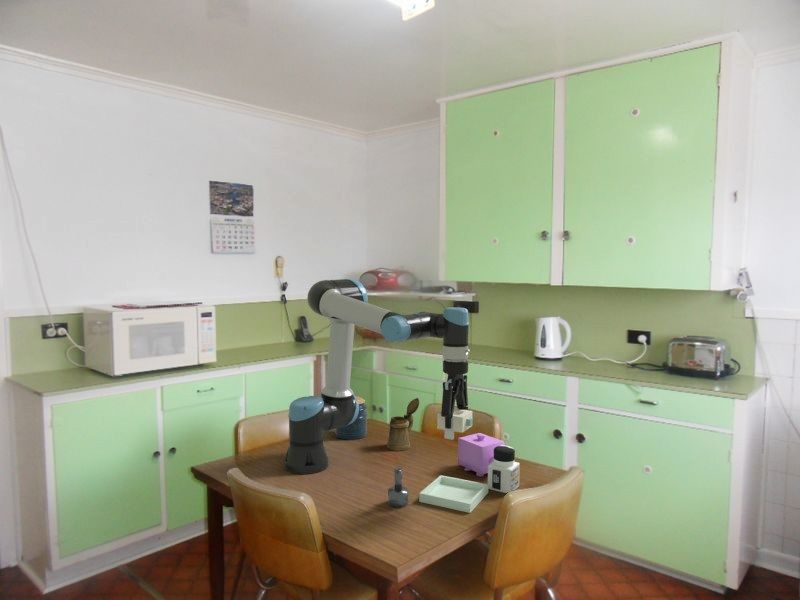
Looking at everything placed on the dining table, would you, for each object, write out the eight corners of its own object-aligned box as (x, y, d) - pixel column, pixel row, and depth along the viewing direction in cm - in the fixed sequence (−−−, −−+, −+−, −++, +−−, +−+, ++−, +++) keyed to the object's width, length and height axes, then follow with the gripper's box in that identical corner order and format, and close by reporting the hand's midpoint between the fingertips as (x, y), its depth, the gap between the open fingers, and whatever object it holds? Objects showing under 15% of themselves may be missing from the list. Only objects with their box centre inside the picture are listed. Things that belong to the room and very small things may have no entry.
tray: (419, 501, 171) (419, 493, 171) (440, 483, 185) (440, 475, 185) (470, 512, 163) (470, 504, 163) (488, 492, 178) (488, 484, 177)
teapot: (453, 466, 200) (453, 430, 199) (474, 460, 206) (475, 426, 205) (493, 484, 184) (494, 446, 183) (515, 477, 190) (516, 440, 189)
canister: (369, 430, 240) (369, 389, 239) (364, 440, 227) (364, 396, 226) (338, 429, 241) (338, 388, 240) (332, 439, 229) (331, 395, 227)
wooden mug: (424, 446, 221) (425, 400, 220) (394, 452, 214) (394, 404, 213) (412, 440, 229) (412, 395, 227) (382, 445, 221) (382, 399, 220)
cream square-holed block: (437, 428, 171) (437, 413, 170) (447, 422, 178) (447, 407, 177) (466, 433, 166) (466, 417, 166) (476, 426, 174) (476, 411, 173)
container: (510, 494, 176) (511, 453, 175) (487, 489, 180) (487, 448, 179) (519, 486, 183) (520, 446, 182) (496, 481, 187) (497, 441, 186)
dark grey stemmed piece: (384, 505, 168) (384, 469, 167) (393, 497, 174) (394, 462, 173) (402, 509, 165) (402, 472, 165) (411, 501, 171) (412, 466, 170)
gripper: (454, 366, 160) (453, 446, 162) (479, 355, 178) (478, 427, 180) (429, 364, 163) (428, 442, 165) (456, 353, 182) (456, 424, 184)
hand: (454, 434), depth 173 cm, fingers closed on cream square-holed block, 8 cm apart
